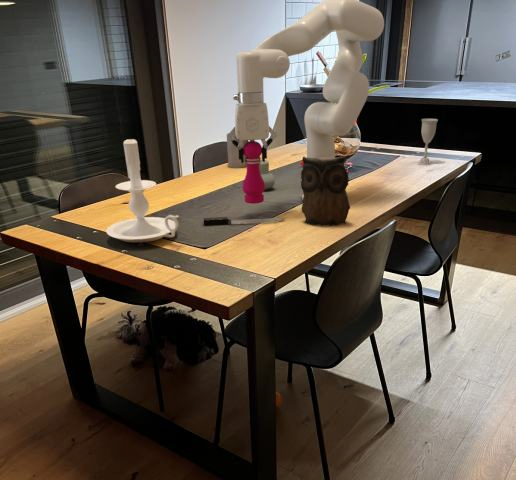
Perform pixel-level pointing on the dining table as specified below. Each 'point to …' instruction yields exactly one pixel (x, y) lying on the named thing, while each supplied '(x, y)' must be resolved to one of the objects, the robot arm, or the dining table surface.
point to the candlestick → (140, 206)
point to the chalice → (427, 136)
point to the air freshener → (266, 174)
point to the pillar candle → (235, 154)
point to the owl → (325, 191)
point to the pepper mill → (253, 173)
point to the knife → (237, 221)
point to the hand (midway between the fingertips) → (252, 161)
